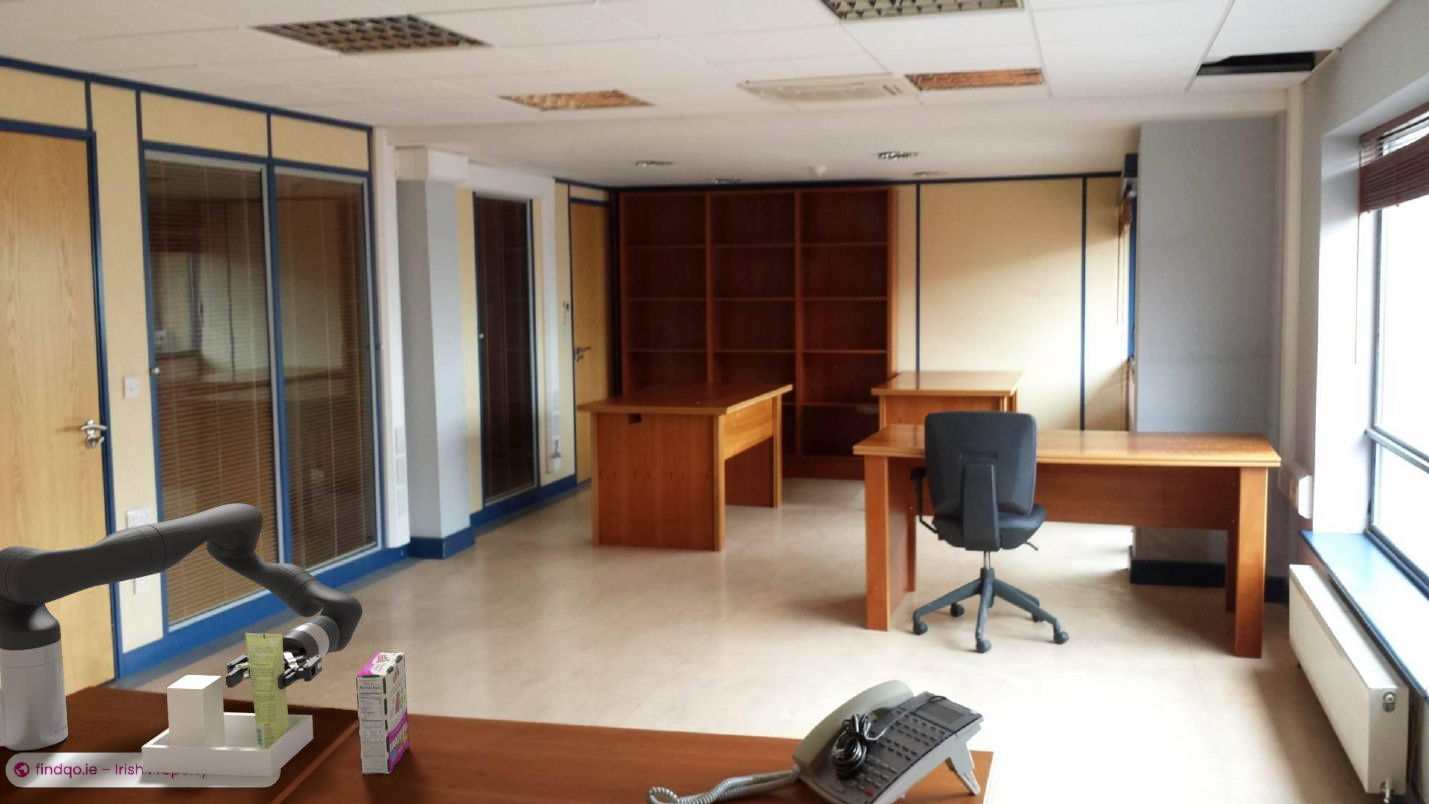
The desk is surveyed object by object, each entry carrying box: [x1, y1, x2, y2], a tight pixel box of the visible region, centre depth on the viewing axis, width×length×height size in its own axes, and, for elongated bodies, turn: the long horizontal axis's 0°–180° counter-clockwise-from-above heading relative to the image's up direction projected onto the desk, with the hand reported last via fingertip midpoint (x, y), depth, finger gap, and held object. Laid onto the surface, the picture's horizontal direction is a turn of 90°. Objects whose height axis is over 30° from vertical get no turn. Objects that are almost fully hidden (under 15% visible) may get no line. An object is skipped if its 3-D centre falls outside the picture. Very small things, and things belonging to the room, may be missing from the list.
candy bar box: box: [355, 651, 410, 775], centre depth 191 cm, size 11×5×16 cm, turn 179°
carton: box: [166, 674, 225, 747], centre depth 192 cm, size 6×6×12 cm
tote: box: [141, 711, 314, 777], centre depth 192 cm, size 21×15×5 cm
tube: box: [245, 632, 289, 749], centre depth 192 cm, size 6×5×20 cm
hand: (254, 682), depth 189 cm, fingers open, 8 cm apart
